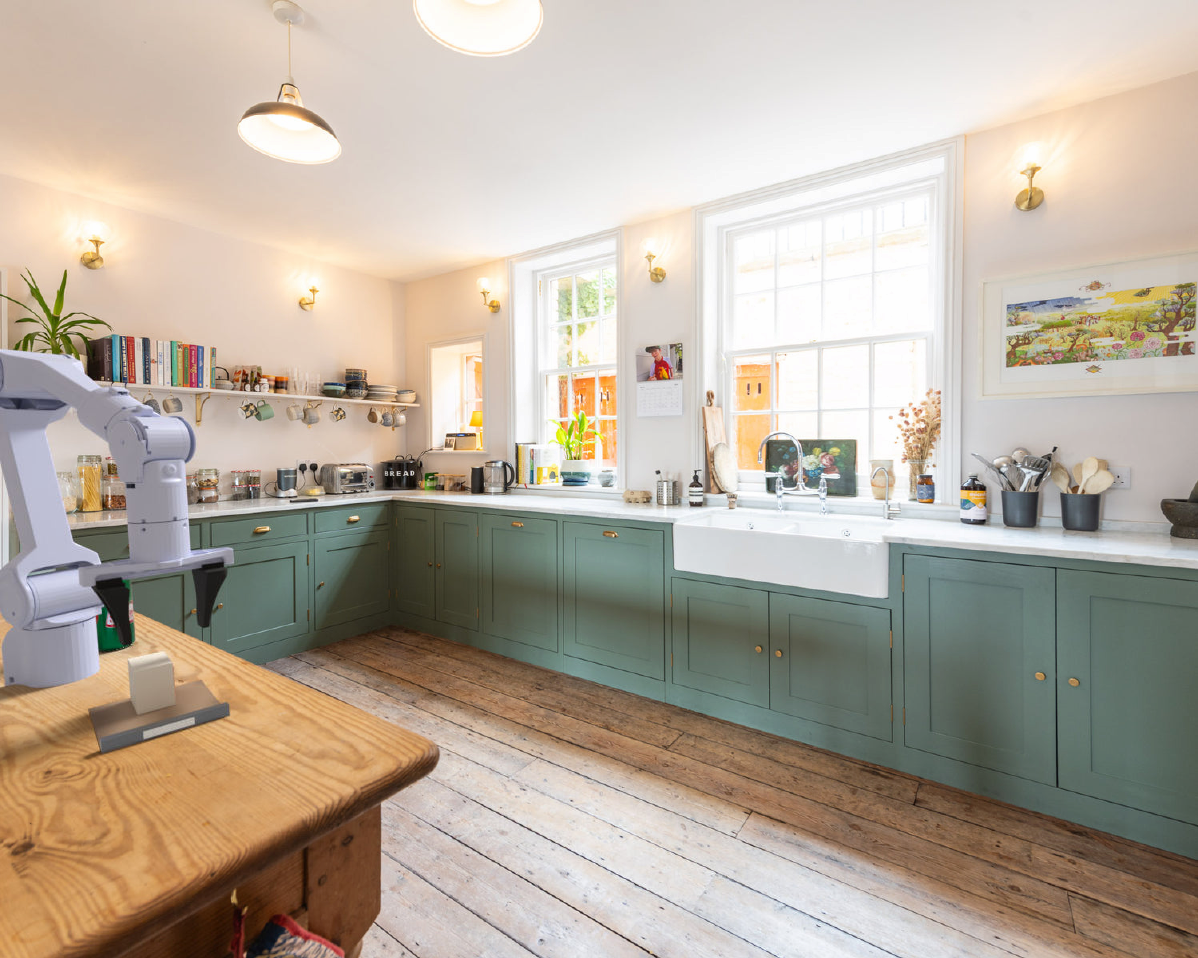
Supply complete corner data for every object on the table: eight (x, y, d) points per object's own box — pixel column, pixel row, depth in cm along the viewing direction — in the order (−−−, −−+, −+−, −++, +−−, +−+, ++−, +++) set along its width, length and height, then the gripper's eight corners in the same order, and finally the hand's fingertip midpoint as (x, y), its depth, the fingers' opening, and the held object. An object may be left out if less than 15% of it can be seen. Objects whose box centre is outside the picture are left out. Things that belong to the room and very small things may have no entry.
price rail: (101, 753, 58) (101, 741, 58) (100, 749, 59) (99, 737, 59) (230, 715, 66) (229, 704, 66) (227, 712, 67) (226, 701, 67)
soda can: (112, 653, 90) (106, 576, 89) (85, 651, 91) (79, 575, 90) (144, 642, 95) (138, 568, 94) (118, 640, 96) (112, 567, 95)
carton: (177, 704, 69) (174, 662, 69) (137, 714, 66) (134, 671, 66) (168, 690, 73) (165, 650, 72) (130, 699, 70) (127, 658, 70)
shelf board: (103, 767, 58) (101, 753, 58) (89, 721, 68) (88, 708, 68) (230, 727, 66) (229, 714, 66) (201, 691, 76) (201, 679, 76)
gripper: (85, 531, 61) (94, 660, 62) (240, 515, 72) (246, 625, 73) (70, 525, 65) (80, 645, 66) (219, 511, 76) (225, 614, 77)
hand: (166, 634), depth 70 cm, fingers open, 7 cm apart
